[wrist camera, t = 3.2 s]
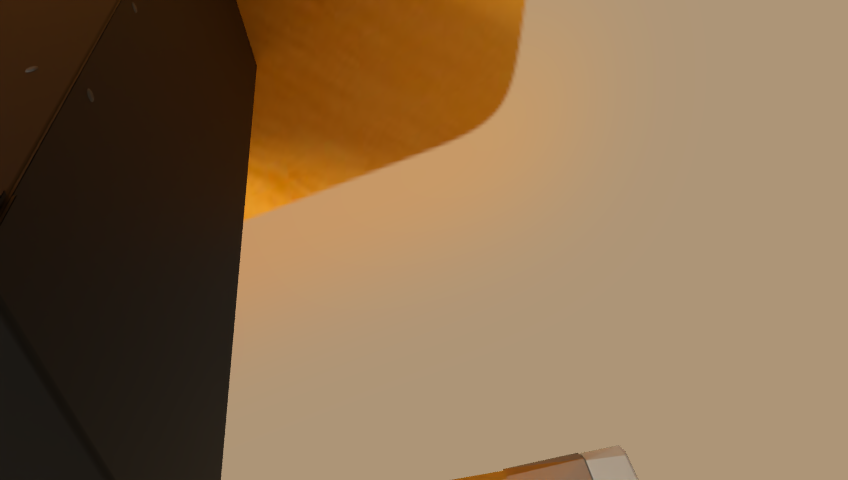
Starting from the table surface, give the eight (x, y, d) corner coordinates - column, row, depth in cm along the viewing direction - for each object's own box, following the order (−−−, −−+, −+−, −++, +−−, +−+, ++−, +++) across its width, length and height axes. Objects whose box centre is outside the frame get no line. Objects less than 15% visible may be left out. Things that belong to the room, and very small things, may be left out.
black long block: (259, 67, 33) (194, 891, 10) (73, 109, 33) (-414, 1037, 10) (195, -135, 29) (-175, 520, 6) (-20, -88, 29) (-1274, 775, 6)
